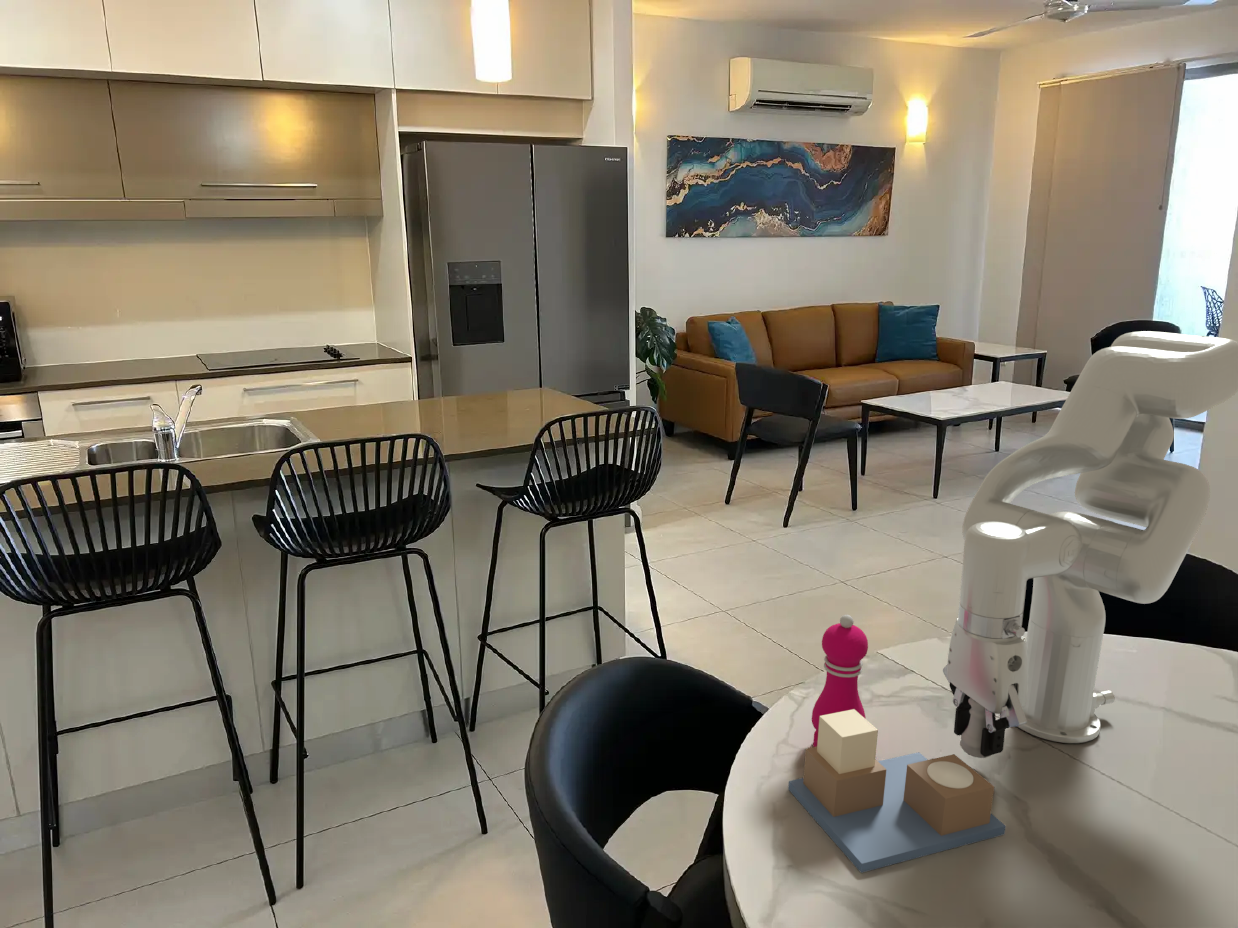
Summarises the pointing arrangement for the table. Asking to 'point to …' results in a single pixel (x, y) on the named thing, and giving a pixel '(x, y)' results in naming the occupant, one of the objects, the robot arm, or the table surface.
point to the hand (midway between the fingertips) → (977, 741)
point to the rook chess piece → (974, 730)
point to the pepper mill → (841, 670)
